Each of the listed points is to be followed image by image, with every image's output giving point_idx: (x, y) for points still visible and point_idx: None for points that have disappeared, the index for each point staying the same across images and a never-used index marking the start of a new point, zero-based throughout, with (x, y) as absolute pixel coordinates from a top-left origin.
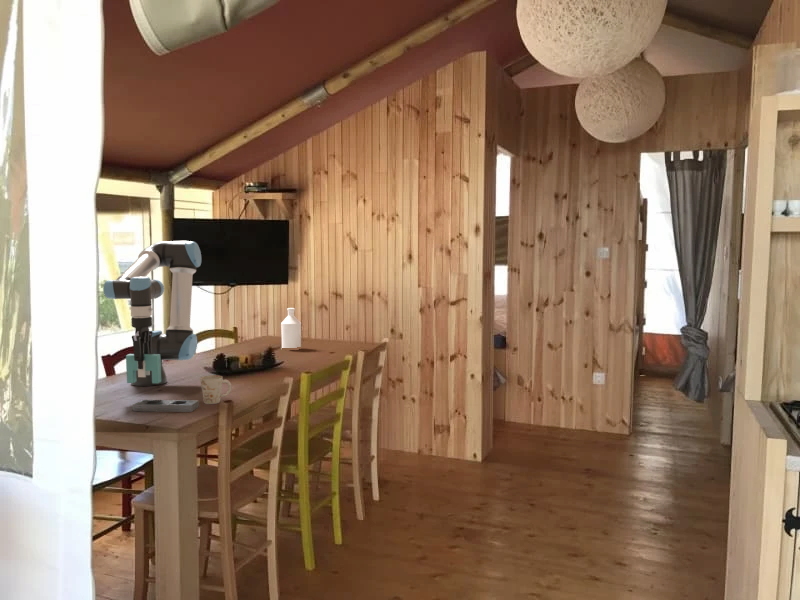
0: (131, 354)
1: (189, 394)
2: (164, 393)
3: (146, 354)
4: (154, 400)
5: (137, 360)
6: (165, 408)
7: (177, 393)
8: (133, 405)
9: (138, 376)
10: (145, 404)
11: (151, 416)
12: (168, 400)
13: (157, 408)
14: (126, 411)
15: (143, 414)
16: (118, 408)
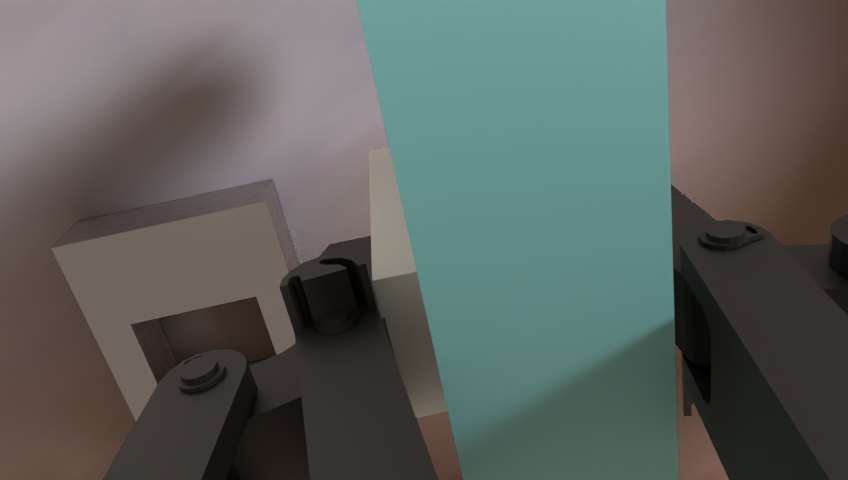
0: (554, 18)
1: None
2: (805, 49)
3: (622, 450)
4: (276, 326)
5: (272, 364)
6: None
7: (804, 171)
8: (58, 250)
9: (370, 161)
10: (111, 348)
11: (17, 446)
12: None
13: None
14: (44, 169)
15: (35, 363)
16: (102, 7)
